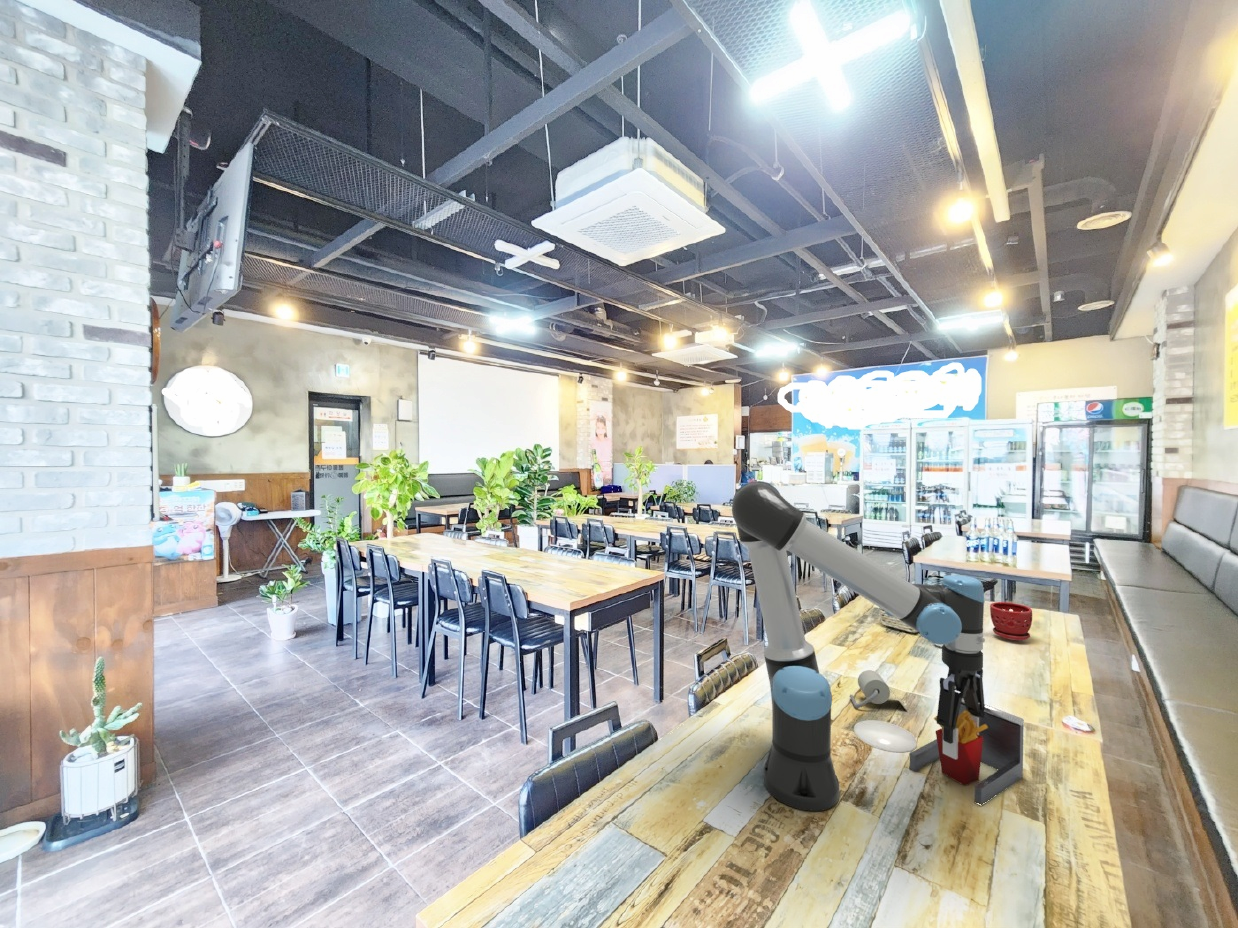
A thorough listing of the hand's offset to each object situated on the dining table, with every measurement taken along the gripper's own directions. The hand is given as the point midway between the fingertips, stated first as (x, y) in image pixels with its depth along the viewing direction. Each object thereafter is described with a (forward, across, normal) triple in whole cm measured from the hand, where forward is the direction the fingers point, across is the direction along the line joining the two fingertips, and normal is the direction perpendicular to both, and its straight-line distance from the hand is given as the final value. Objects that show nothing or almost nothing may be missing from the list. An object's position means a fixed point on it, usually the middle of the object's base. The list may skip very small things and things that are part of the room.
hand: (960, 749), depth 112 cm
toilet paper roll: (+10, +18, +27) cm, 34 cm away
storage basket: (+7, +93, +64) cm, 113 cm away
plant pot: (+7, +112, +35) cm, 118 cm away
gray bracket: (+6, 0, 0) cm, 6 cm away
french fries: (+6, +1, -1) cm, 7 cm away
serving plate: (+6, +1, +18) cm, 19 cm away
